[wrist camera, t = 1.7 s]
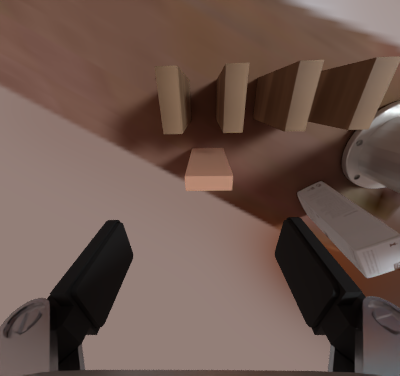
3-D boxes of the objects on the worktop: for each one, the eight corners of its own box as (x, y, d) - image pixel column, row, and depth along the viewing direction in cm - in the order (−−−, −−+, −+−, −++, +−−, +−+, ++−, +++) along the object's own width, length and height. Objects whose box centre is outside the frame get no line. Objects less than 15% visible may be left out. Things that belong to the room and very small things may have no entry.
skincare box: (294, 192, 27) (352, 251, 17) (322, 178, 26) (403, 233, 15) (307, 215, 30) (364, 281, 19) (333, 204, 28) (410, 267, 18)
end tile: (192, 148, 24) (184, 176, 15) (222, 147, 24) (233, 175, 15) (192, 158, 25) (185, 190, 16) (222, 158, 25) (231, 190, 16)
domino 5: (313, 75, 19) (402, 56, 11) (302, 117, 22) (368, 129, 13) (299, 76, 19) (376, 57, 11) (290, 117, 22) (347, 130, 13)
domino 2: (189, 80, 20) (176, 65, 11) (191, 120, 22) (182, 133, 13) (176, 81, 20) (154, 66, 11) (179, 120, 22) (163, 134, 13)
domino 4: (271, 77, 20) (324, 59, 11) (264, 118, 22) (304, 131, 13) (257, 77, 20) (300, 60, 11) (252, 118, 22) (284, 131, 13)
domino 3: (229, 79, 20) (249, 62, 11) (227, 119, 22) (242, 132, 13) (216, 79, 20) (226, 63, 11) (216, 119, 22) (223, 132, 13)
